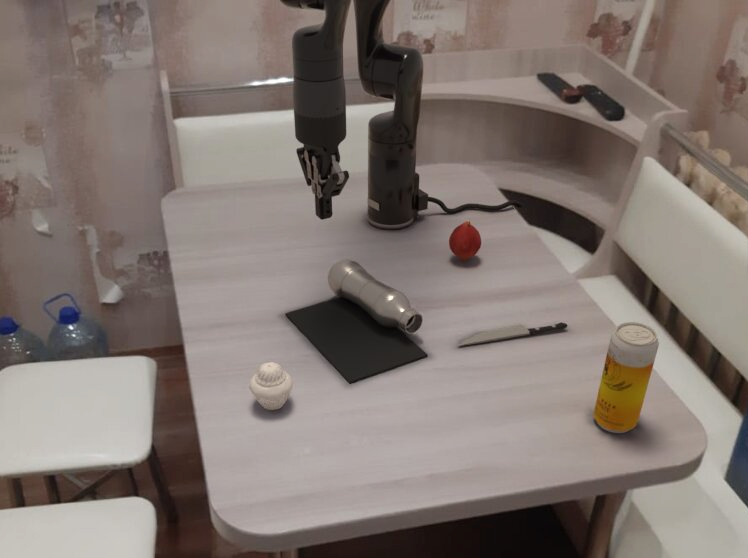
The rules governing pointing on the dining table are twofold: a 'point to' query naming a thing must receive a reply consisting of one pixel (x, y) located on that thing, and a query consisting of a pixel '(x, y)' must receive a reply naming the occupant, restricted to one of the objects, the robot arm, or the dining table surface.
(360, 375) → the rubber mat
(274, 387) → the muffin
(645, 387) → the beer can
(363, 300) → the plastic bottle
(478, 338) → the chef's knife
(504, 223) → the dining table surface
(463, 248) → the onion
